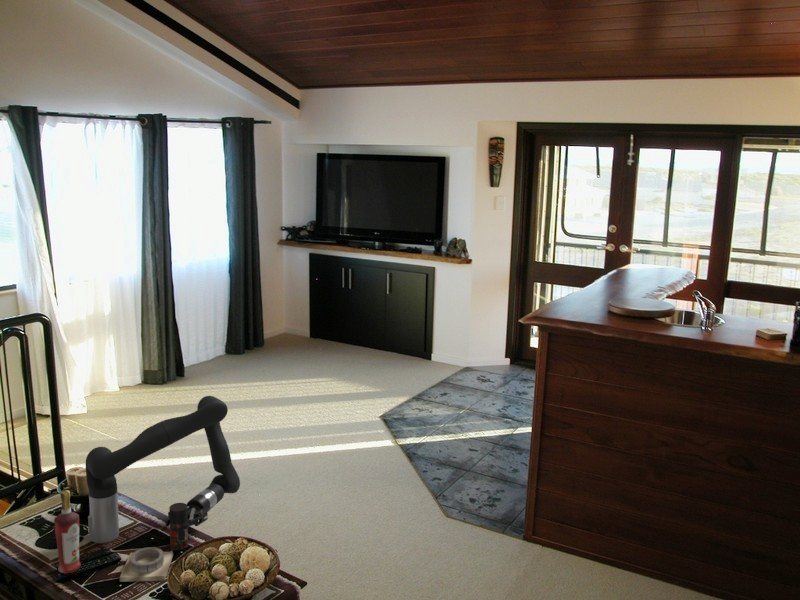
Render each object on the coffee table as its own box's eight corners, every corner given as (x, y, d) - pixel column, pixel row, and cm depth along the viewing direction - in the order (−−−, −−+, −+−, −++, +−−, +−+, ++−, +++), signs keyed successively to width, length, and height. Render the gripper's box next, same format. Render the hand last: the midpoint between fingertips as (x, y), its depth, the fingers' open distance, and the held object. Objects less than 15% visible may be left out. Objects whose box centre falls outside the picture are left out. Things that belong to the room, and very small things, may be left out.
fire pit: (119, 581, 224) (119, 569, 223) (130, 556, 237) (130, 544, 236) (164, 580, 225) (164, 567, 224) (173, 555, 239) (172, 543, 238)
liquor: (72, 561, 233) (68, 484, 227) (86, 568, 229) (82, 491, 224) (52, 571, 227) (47, 493, 221) (66, 579, 223) (61, 500, 217)
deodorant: (172, 540, 247) (171, 502, 244) (189, 540, 248) (188, 502, 245) (168, 550, 242) (167, 511, 238) (185, 550, 242) (185, 511, 239)
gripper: (185, 490, 258) (156, 512, 242) (219, 498, 253) (192, 520, 238) (185, 508, 259) (157, 531, 243) (219, 516, 255) (192, 540, 239)
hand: (174, 525), depth 241 cm, fingers closed on deodorant, 6 cm apart
